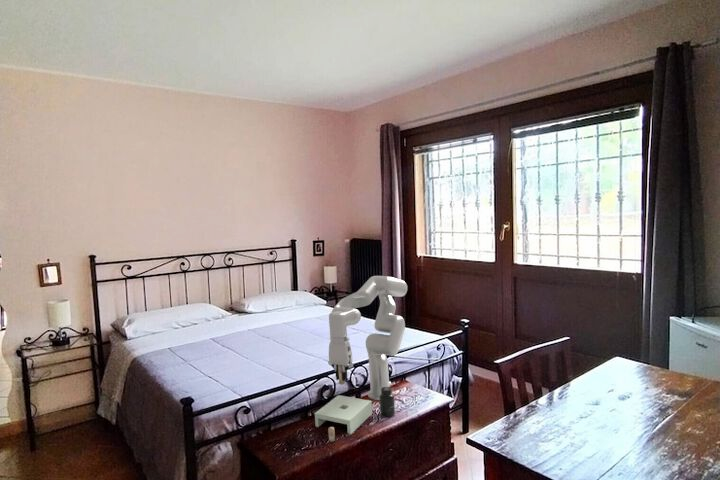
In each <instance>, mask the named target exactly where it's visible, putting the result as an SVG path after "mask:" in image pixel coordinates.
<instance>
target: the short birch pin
mask: <svg viewBox="0 0 720 480" xmlns="http://www.w3.org/2000/svg"><path fill="white" fill-rule="evenodd" d="M327 428H328V429H327V430H328V431H327V432H328V433H327V434H328V441H329V442H332V443H333V442H335V440H336V435H335V433H336V432H335V427H334V426H330V427H327Z"/></svg>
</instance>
